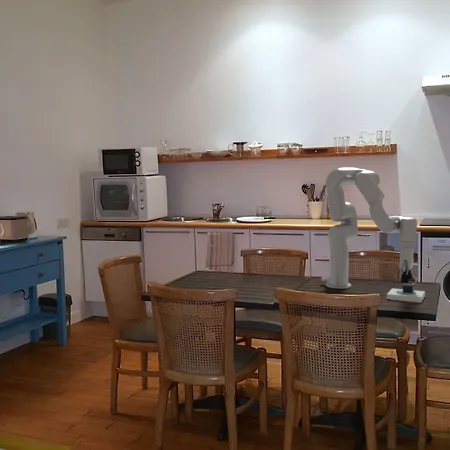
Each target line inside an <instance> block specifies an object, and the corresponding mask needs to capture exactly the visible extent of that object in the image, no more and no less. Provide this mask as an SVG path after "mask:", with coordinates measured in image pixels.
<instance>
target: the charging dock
mask: <svg viewBox="0 0 450 450" xmlns="http://www.w3.org/2000/svg"><path fill="white" fill-rule="evenodd" d="M425 297H426V291H424V290H415V289H414V292H413V293H403V288H401V289H400V288H391V289H390V290H389V291H388V292H387V293H386V300H388V299H390V301H391V300H392V301H398V302H399V301H400V302H402V301H403V302H409V303H420V304H421V303H422V302H423V300H424V298H425Z"/></svg>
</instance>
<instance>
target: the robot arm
mask: <svg viewBox="0 0 450 450" xmlns="http://www.w3.org/2000/svg"><path fill="white" fill-rule="evenodd" d="M380 182H381V178H380V176H379V174H378V173H377V172H375V171H372V170H366V169H362V168H357V167H338V168H335V169H333V170H332V171H330V172H329V173H328V174H327V176H326V179H325V189H326V193H327V194H326V196H327V207H328V216H329V219H330V221H333V222H336V223H339V222H340V224H335V225H333V226H331V227H330V228H329V230H328V232H327V237H328V238H327V239H328V246H329V260H328V261H329V263H328V264H329V269H328V270H329V272H328V275H329V276H327V277H325V276H321V278H320V280H321V281H322V282H326V283H325V286H326V287H327V288H330V289H341V290H342V289H343V290H344V289H350V288H351V287H352V284H351V283H349V263H350V262H349V260H350V259H349V251H350V250H349V246H348V244H347V243H350V242H353V241H355V240H356V238H357V237H358V233H359V227H358V216H357V210H356V208H355V206H354V205H353V203H351V202H349V201H347V202H346V199H345V197H346V196H345V191H344V189H343V188H342V187H343V186H345V185H346V186H347V185H353V186H356V188H357V189H358V191H359V192H360V194H361V195H362V196H363V198H364V200H365V201H366V202H367V204H368V208H369V209H368V211H369V213H370V214H369V215H370V217H371V219H372V221H373V222H374V224H375V225H376V227H377V228H378V230H380V232H382V233H384V234H390V233H397V232H399V236H398V238H399V239H398V241H399V242H398V247H399V248H400V252H399V253H400V254H399V265H398V267H399V270H401V272H402V274H401V273H400V274H401V278H400V282H401V284H403V283H407V284H409V282H410V280H412V279H413V276H412V275H411V271H410V269H413V267H414V253H415V251H414V250H415V249H416V248H417V239H418V238H417V237H418V236H417V232H418V231H417V230H418V228H417V227H418V220H417V219H416V218H415V217H405V216H401V215H400V216H399V215H393V216H392V215H390V216H389V215H388V214H387V212H386V211H385V209H384V206H383V200H385V199H384V198H385V194H384V192H383V191H382V189H381V188H380V186H379V184H381V183H380Z"/></svg>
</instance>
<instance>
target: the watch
mask: <svg viewBox="0 0 450 450" xmlns="http://www.w3.org/2000/svg"><path fill="white" fill-rule="evenodd" d="M410 271H411V275H412V279H414V281H415V282H413V283H402V284H403V285H402V289H403V293H413V292H414V290H415V284H416V283H417V281H418V279H419V275H418V273H417V271H416V270H415V269H414V268H412V269H410ZM401 274H402V271H401V272H400V273H399V278H400V279H401Z"/></svg>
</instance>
